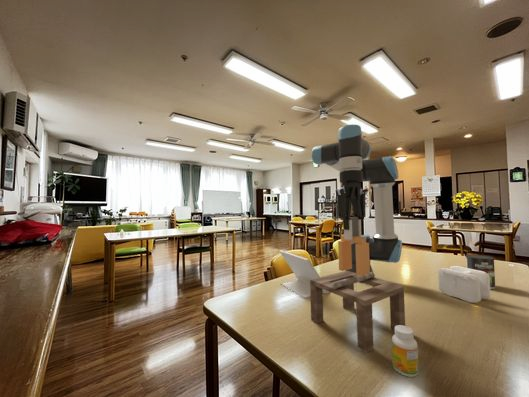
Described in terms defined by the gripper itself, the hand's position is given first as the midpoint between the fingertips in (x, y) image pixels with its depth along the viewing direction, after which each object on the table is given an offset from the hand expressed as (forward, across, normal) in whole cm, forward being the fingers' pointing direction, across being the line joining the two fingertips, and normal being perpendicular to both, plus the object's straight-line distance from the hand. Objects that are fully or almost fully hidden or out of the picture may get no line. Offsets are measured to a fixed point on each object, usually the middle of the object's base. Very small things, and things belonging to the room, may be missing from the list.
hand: (352, 238), depth 78 cm
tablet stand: (+29, +11, +38) cm, 49 cm away
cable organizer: (+29, +58, -11) cm, 66 cm away
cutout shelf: (+29, 0, 0) cm, 29 cm away
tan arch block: (+11, 0, 0) cm, 11 cm away
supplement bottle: (+29, -8, -20) cm, 36 cm away
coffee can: (+29, +82, -10) cm, 88 cm away
